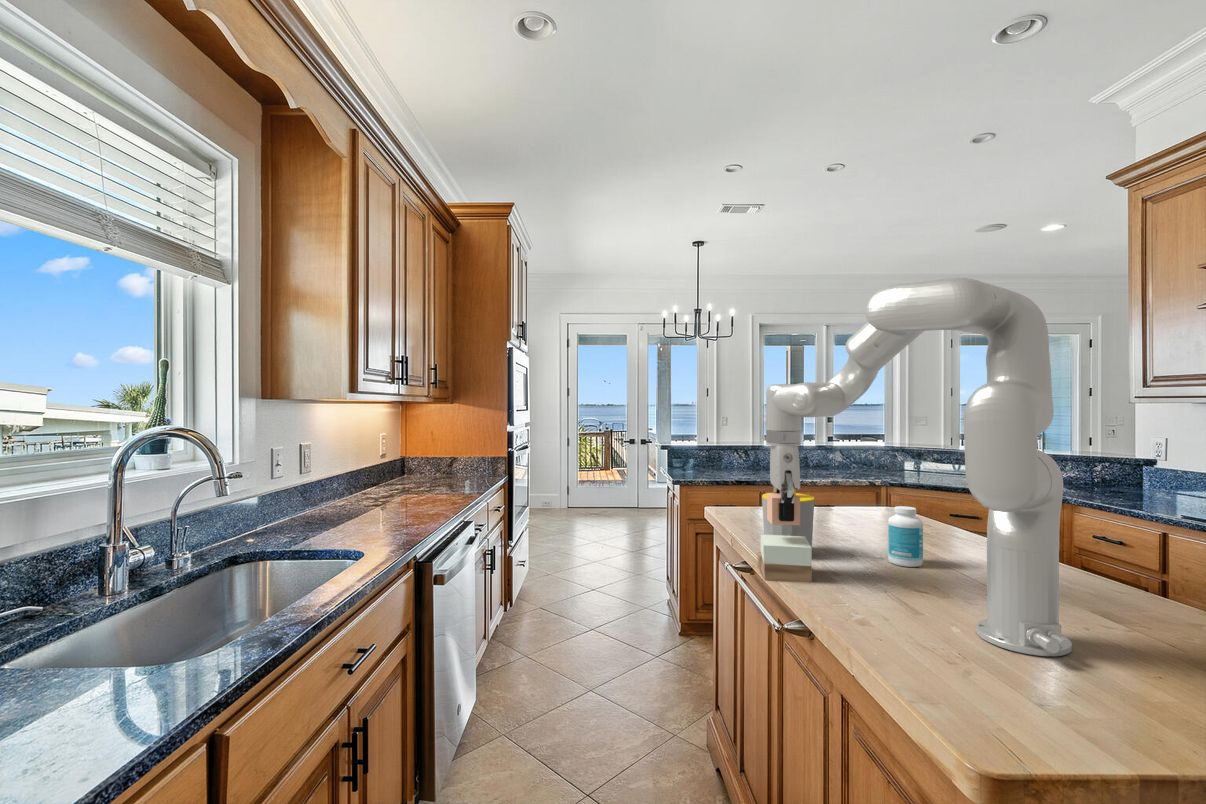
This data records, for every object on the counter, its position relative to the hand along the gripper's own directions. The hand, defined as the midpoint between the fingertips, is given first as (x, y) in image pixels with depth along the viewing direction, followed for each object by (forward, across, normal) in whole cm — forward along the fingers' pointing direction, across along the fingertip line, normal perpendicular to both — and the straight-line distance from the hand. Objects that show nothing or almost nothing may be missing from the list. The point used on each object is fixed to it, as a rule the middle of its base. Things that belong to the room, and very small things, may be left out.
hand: (783, 516), depth 129 cm
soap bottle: (+13, +18, -5) cm, 23 cm away
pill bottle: (+13, +11, -31) cm, 35 cm away
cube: (+1, 0, 0) cm, 1 cm away
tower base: (+13, 0, 0) cm, 13 cm away
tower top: (+9, 0, 0) cm, 9 cm away
